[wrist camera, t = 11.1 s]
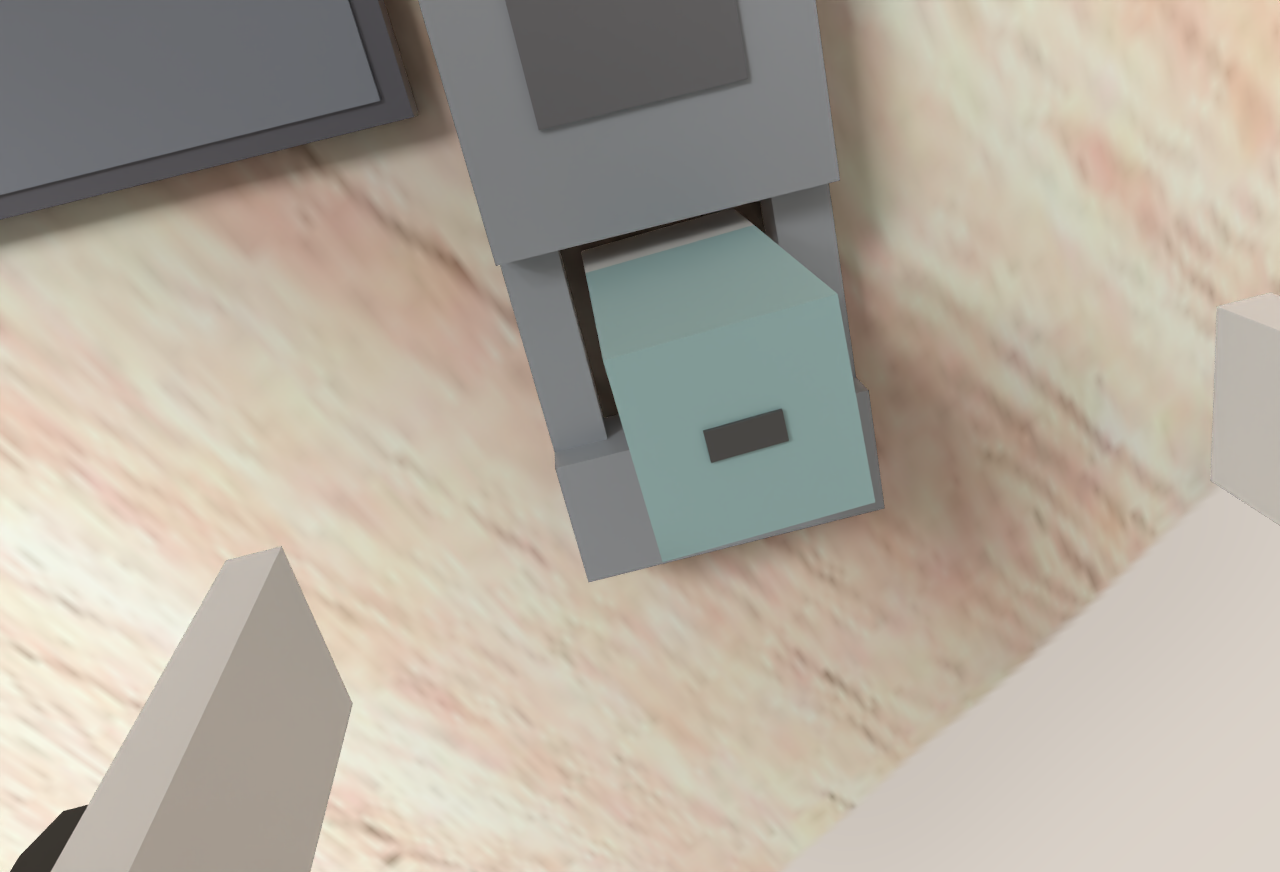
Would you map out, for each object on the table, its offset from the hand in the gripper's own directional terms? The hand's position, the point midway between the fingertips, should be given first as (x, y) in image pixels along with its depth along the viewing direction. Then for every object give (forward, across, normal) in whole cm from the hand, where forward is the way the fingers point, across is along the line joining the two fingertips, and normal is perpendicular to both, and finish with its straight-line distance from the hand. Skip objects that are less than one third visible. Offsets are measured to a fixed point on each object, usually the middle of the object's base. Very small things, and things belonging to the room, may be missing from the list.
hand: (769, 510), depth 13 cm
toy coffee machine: (+12, 0, +2) cm, 12 cm away
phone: (+12, -10, +8) cm, 18 cm away
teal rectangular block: (+12, 0, 0) cm, 12 cm away
